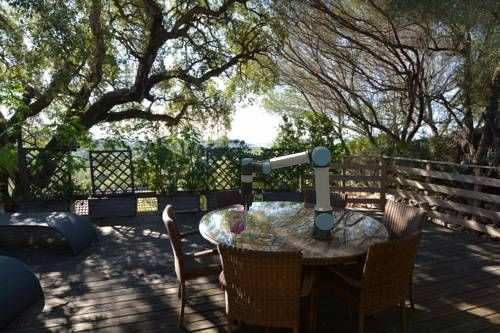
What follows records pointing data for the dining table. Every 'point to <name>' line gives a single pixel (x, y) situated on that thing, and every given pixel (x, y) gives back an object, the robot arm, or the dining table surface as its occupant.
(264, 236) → the key charcoal
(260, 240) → the keypad
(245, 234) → the key sage
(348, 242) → the dining table surface
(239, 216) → the candy bar box
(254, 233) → the key slate
